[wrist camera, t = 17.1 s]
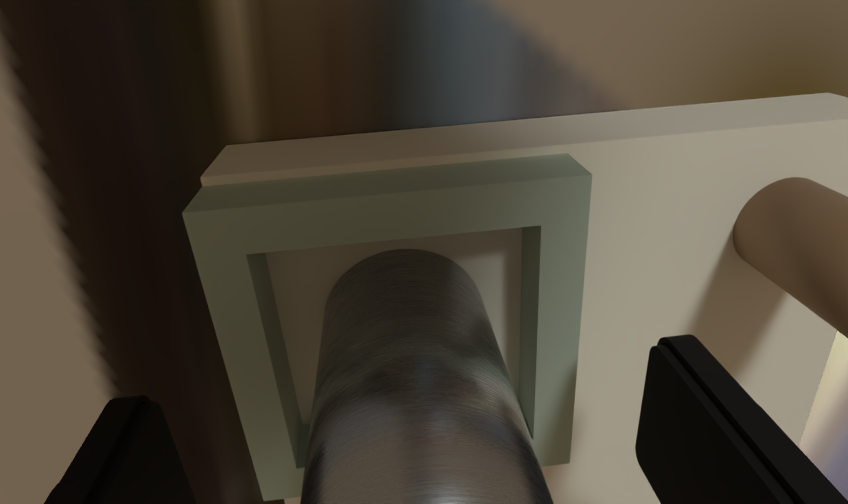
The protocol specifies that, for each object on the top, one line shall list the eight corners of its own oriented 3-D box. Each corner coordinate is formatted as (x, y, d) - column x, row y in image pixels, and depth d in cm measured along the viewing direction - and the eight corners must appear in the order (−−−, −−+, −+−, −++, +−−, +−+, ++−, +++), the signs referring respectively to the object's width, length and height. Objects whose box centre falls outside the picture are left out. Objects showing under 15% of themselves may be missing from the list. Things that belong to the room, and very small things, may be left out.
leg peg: (291, 330, 14) (207, 717, 7) (397, 216, 13) (437, 535, 5) (410, 405, 15) (449, 790, 8) (515, 310, 14) (668, 658, 7)
